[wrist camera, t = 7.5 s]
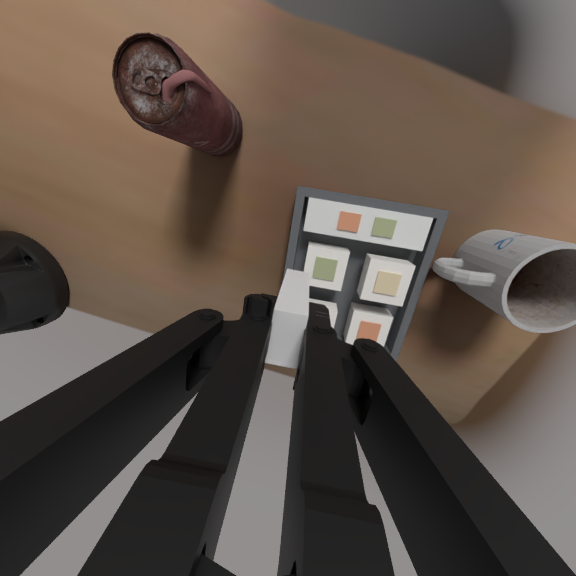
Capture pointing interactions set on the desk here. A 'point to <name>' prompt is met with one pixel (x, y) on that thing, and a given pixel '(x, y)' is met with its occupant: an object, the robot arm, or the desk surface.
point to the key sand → (385, 279)
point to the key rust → (367, 323)
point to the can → (174, 95)
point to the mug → (517, 277)
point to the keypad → (365, 247)
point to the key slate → (331, 307)
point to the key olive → (326, 265)
